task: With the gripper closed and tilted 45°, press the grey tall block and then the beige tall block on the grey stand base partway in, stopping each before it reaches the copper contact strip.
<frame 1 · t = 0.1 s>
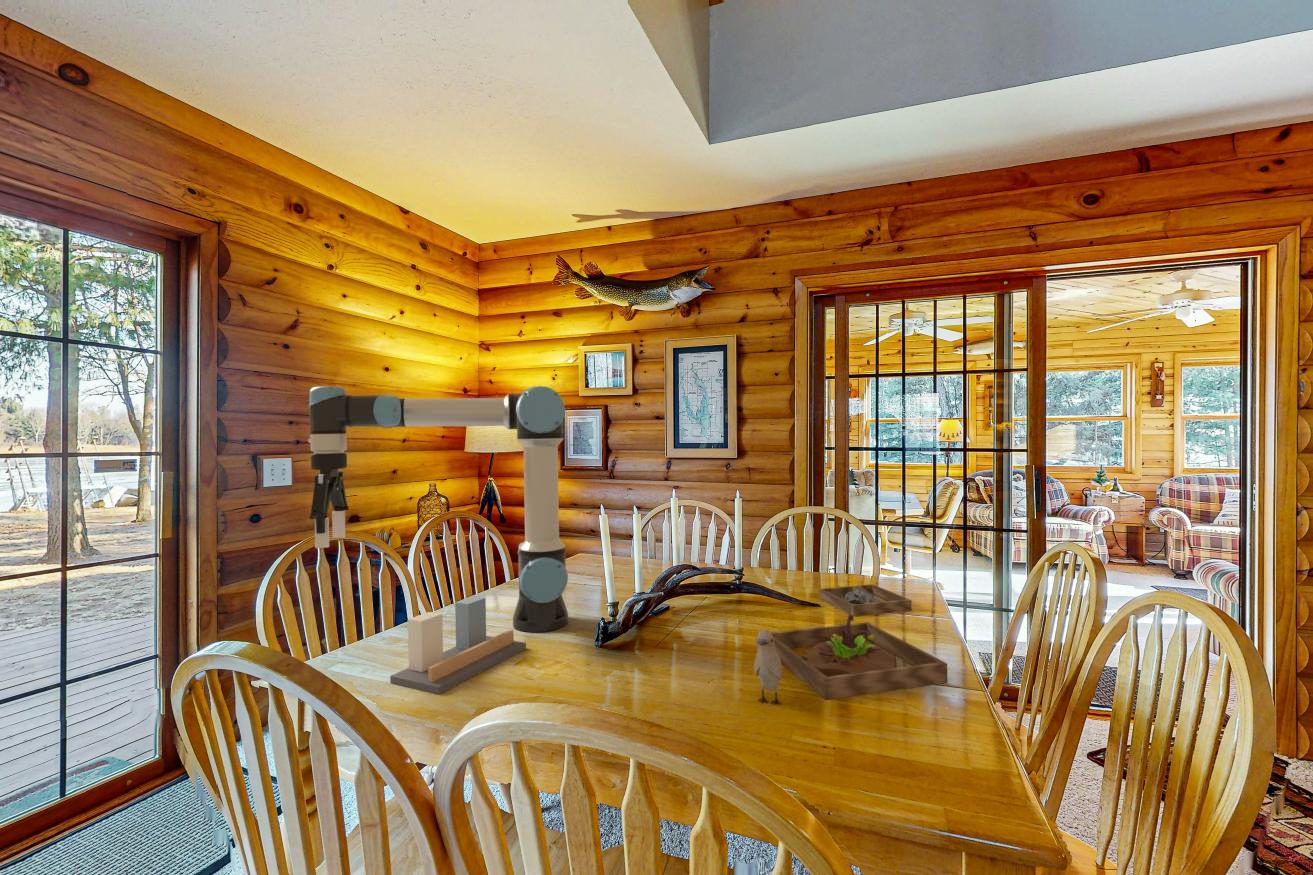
hand: (331, 542, 140), 28 cm above the table, tool pointing down, fingers open, 13 cm apart
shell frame: (863, 604, 179), on the table
plant: (850, 667, 133), on the table
bird: (769, 703, 115), on the table
grey stand base: (463, 664, 137), on the table
planter frame: (849, 664, 133), on the table
grey tall block: (471, 622, 145), point 7 cm above the table, slide at 0.0 cm
beige tall block: (425, 641, 132), point 7 cm above the table, slide at 0.0 cm
fossilized seashell: (864, 605, 179), on the table
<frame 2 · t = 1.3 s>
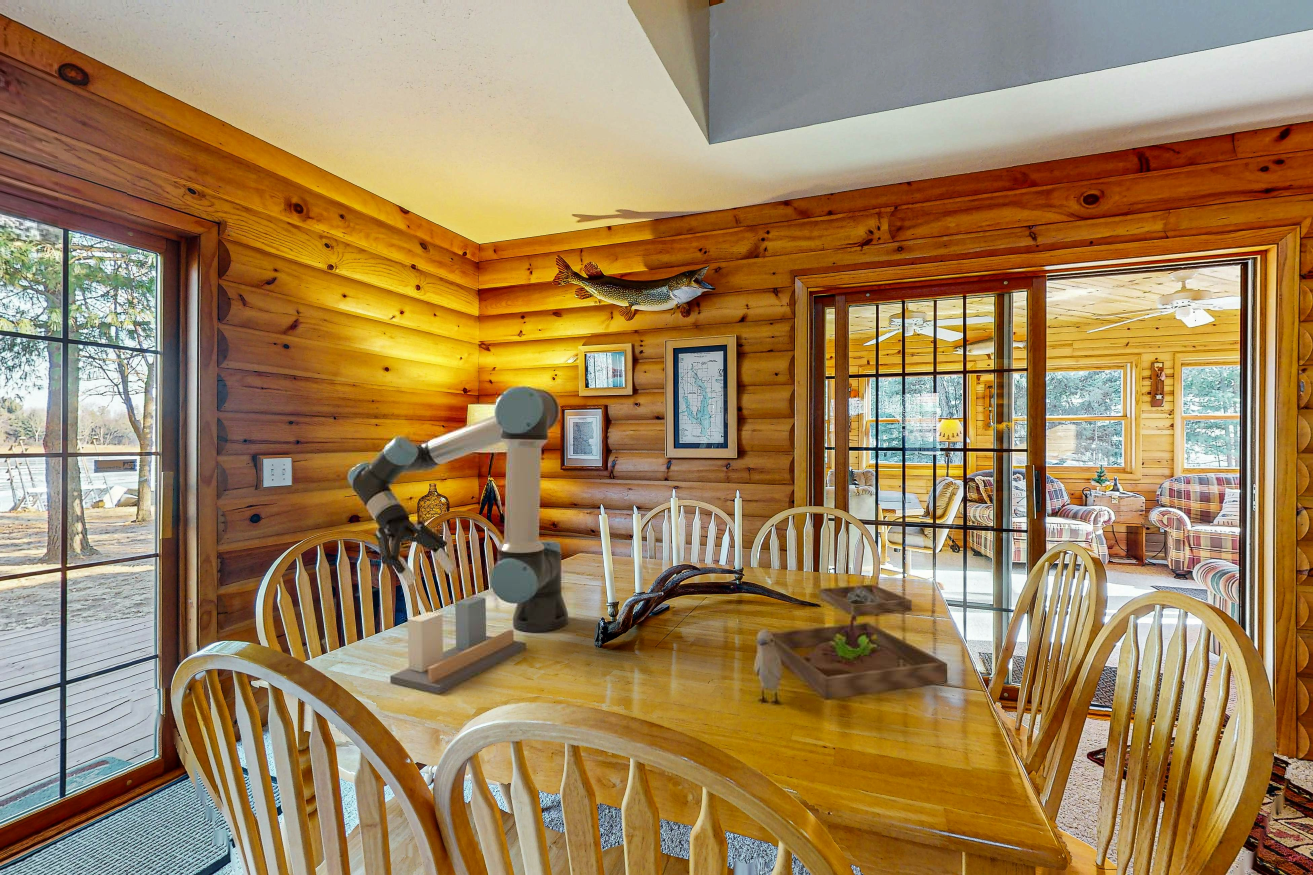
hand: (432, 575, 150), 17 cm above the table, tool tilted 45°, fingers open, 12 cm apart
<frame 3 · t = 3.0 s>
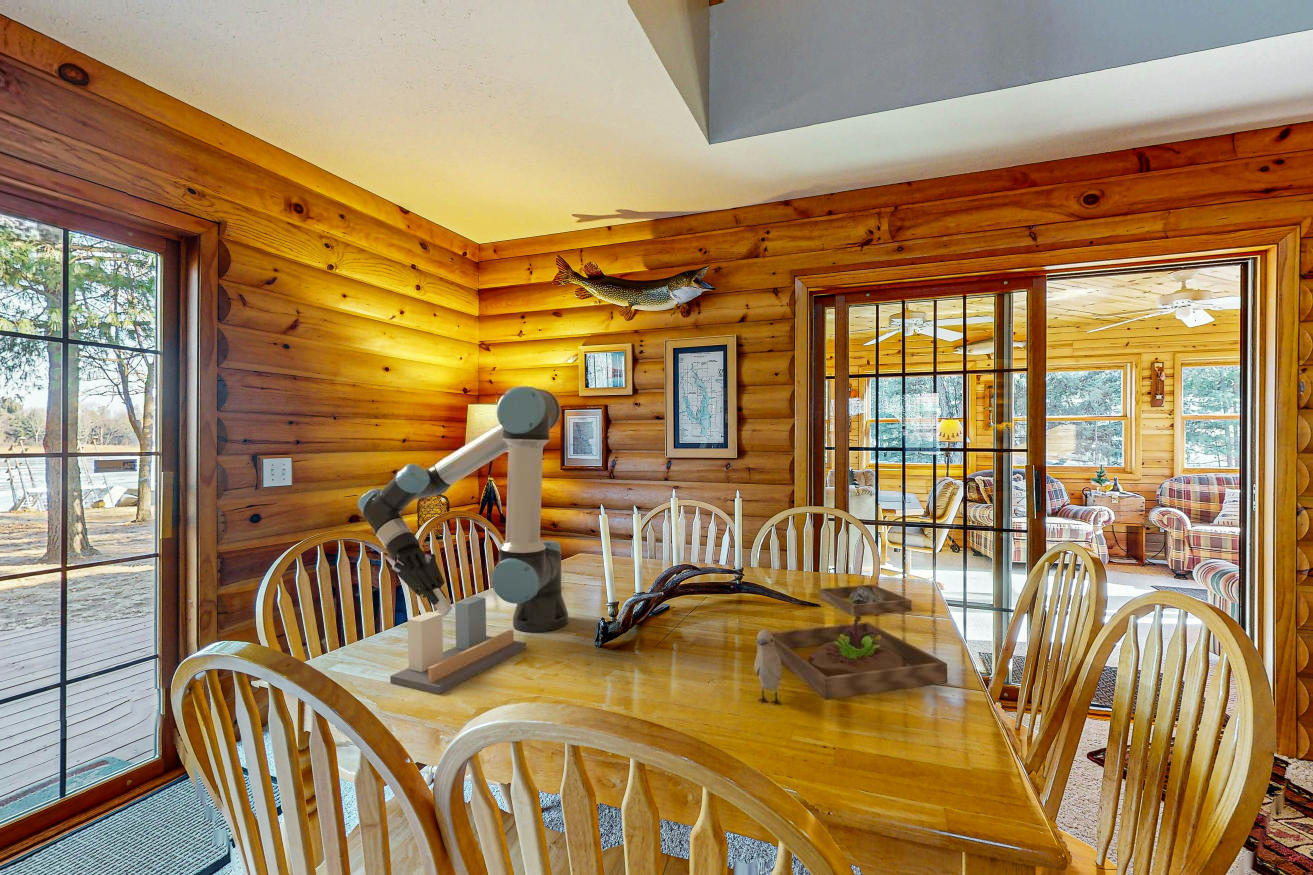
hand: (447, 612, 148), 9 cm above the table, tool tilted 45°, fingers closed
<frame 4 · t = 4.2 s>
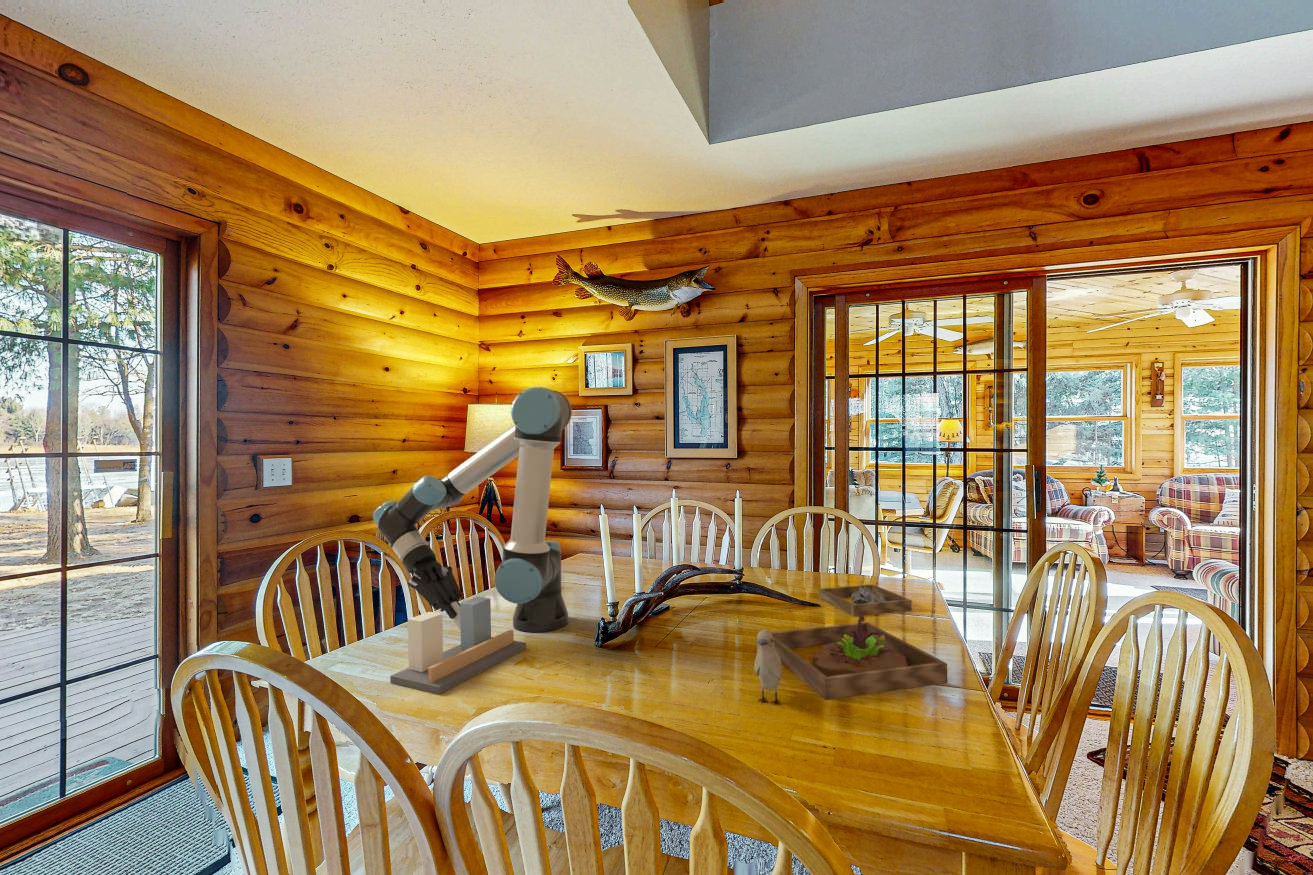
hand: (465, 626, 145), 6 cm above the table, tool tilted 45°, fingers closed
grey tall block: (475, 623, 144), point 7 cm above the table, slide at 1.6 cm, touching gripper
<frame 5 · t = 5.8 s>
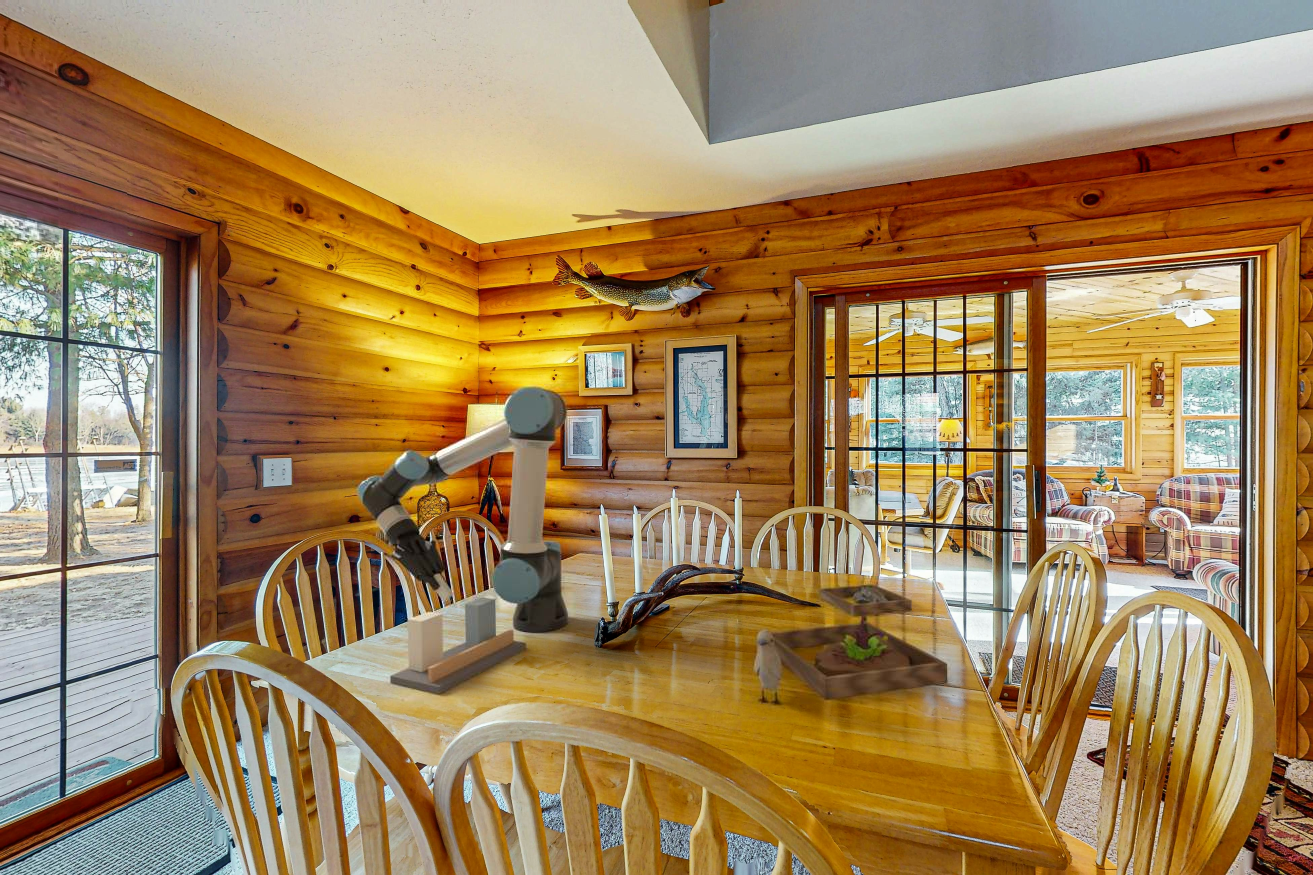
hand: (448, 597, 147), 13 cm above the table, tool tilted 45°, fingers closed
grey tall block: (480, 624, 143), point 7 cm above the table, slide at 3.1 cm
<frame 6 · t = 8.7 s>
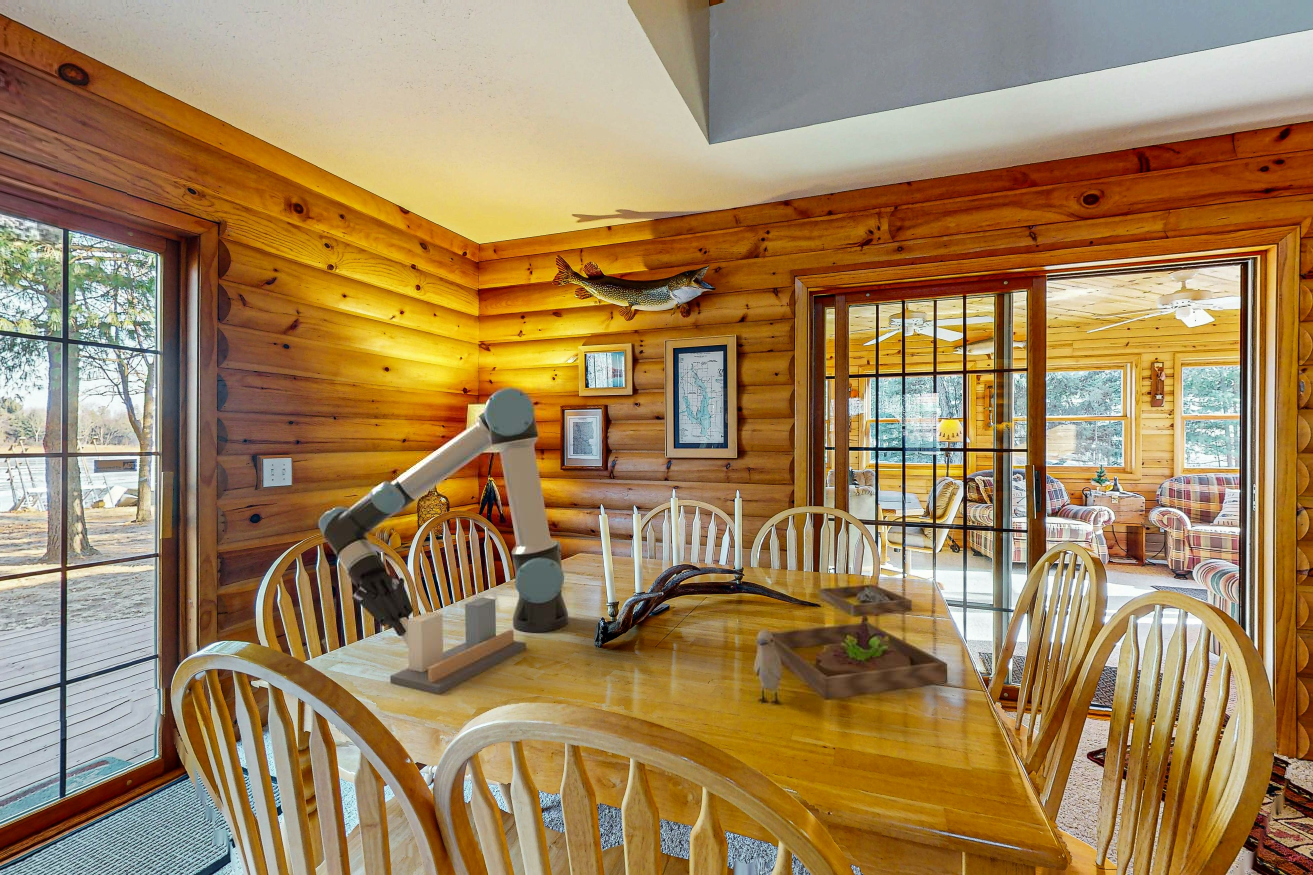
hand: (415, 644, 133), 6 cm above the table, tool tilted 45°, fingers closed
beige tall block: (425, 641, 132), point 7 cm above the table, slide at 0.0 cm, touching gripper
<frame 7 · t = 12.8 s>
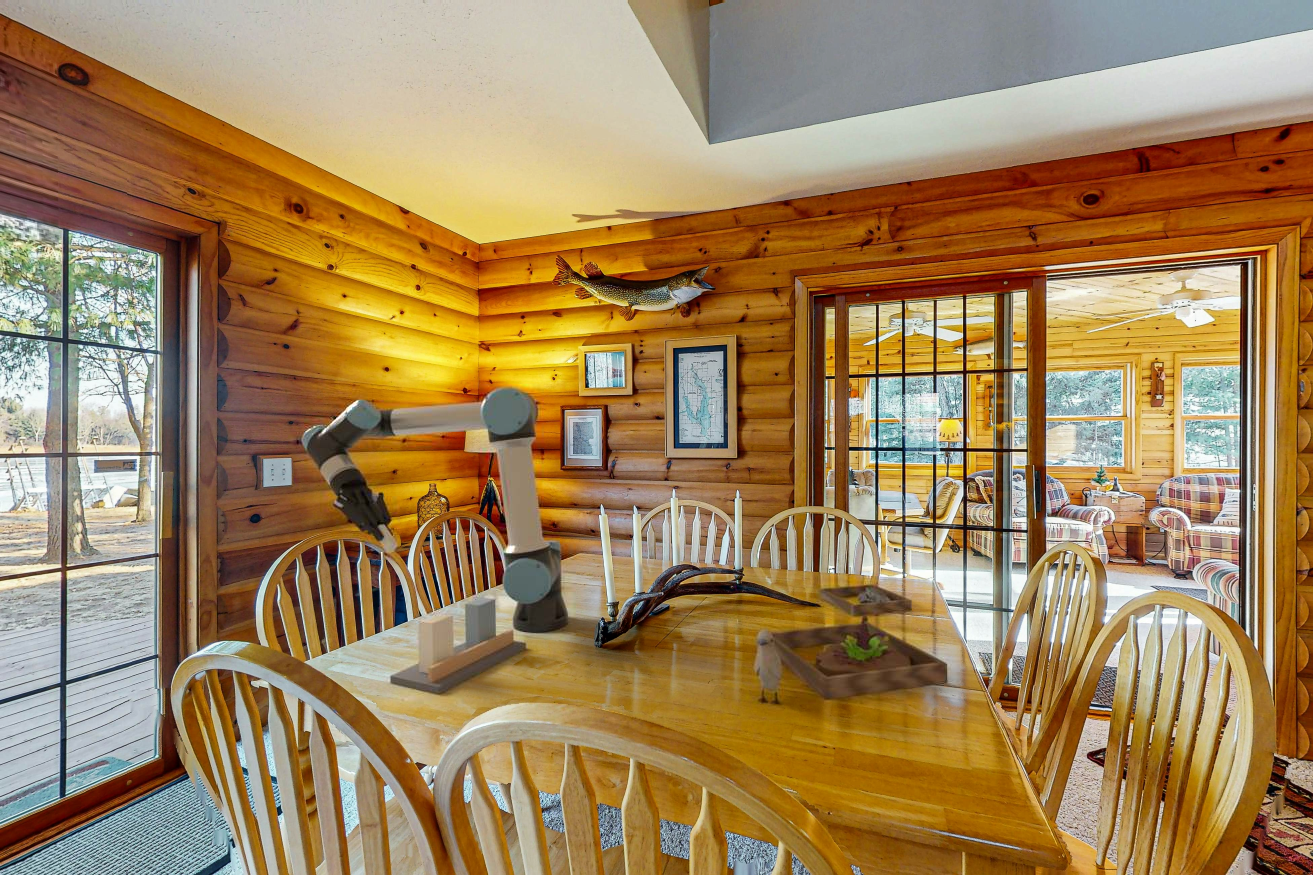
hand: (392, 548, 141), 26 cm above the table, tool tilted 45°, fingers closed
beige tall block: (436, 643, 131), point 7 cm above the table, slide at 3.2 cm
at the end: grey tall block slide at 3.1 cm; beige tall block slide at 3.2 cm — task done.
